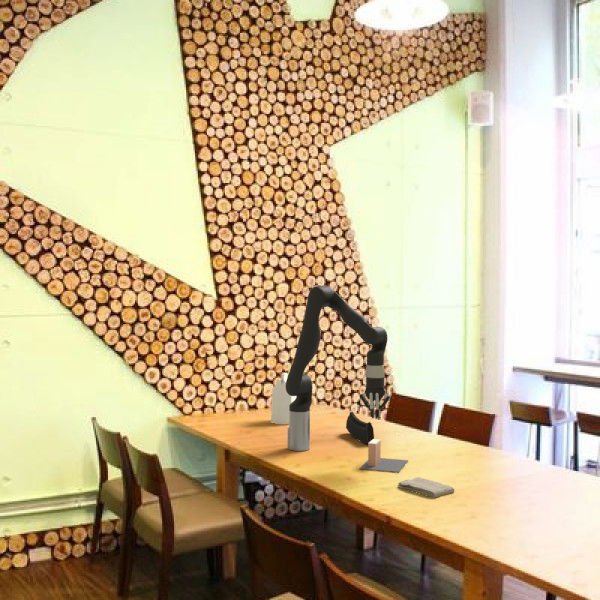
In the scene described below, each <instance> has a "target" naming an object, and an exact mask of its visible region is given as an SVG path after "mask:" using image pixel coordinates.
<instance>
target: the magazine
mask: <svg viewBox="0 0 600 600" xmlns="http://www.w3.org/2000/svg"><path fill="white" fill-rule="evenodd" d="M345 429H346V430H347V432H348V433H349V434H351V436H352V437H353V438H354V437H355V438H356V440H357V439H358V440H357V441H359V440H360V441H361V443H364V444H368V443H369V442H370V441H371V440H373V439H375V433H374V432H375V431H374V426H373V425H372V422H371V421H369V422H365V421H363V420H361V419H360V418H359V417H358V416H356V414H355V413H354V412H353V411H350V412H349V414H348V417H347V419H346V424H345ZM355 438H354V439H355ZM360 441H359V442H360Z"/></svg>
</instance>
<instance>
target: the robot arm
mask: <svg viewBox="0 0 600 600" xmlns="http://www.w3.org/2000/svg"><path fill="white" fill-rule="evenodd" d="M306 299H307V300H306V307H305V312H304V317H303V323H302V327H301V331H300V334H299V337H298V342H297V346H296V351H295V354H294V357H293V361H292V364H291V366H290V369H289V371H288V377H287V380H286V391H287V393H288V394H289V395H290V396H297V397H296V399H295V400H294V401H293V402H292V403H291V404H290V405H289V425H288V427H287V450H290V451H295V452H304V451H305V452H306V451H309V450H310V449H311V443H310V442H311V437H310V435H311V406H312V401H313V382H312V378H311V377H310V375H308V374H306V373H304V372H305V370H306V368H307V367H308V365H309V364H310V363H311V361H312V360H313V359H314V358H315V356H316V354H317V353H318V350H319V347H320V343H321V339H322V332H321V327H320V322H319V319H320V315H321V312H322V308H330V309H331V310H333V311H335V312H336V313H337V314H338V315H339V316H340V318H341V320H342V321H343V323H344V324H345V325H346V326H348V327H349V328H350V329H351V330H353V331H354V332H356V333H357V334H358V337H360V338H361V339H362V341H364V343H366V344H368V345H370V346H371V349H370V350H369V351H367V352H366V368H365V390H364V392H363V393H361V394H359V398H360V400H361V401H362V403H363V404H364V406H365V407H366V408H367V409H369V410H370V411H369V413H370V414H369V415H370V417H371V419H374V418H375V419H376V420H377V419H379V417H380V415H381V414H380V413H381V409H383V408H384V407H386V405H387V404H388V402H389V401H390V399H391V398H392V397H391V395H389V394H388V393H386V392H387V391H386V390H385V375H386V374H385V352H386V349H387V345H388V333H387V330H386V329H385V328H384V327H382V326H371V325H370V321H369V319H367V317H365V316H364V315H362V314H361V313H360V312H359V311H357V310H355V309H354V308H353V307H352V306H350V305H349V303H347V302H346V301H345V300H344V299H343V297H341V296H340V295H339V294H338V293H337V291H335V289H334V288H332V287H331V286H328V285H317V286H313V287H312V288H310V290H309V292H308V295H307V298H306ZM367 398H368V399H367ZM382 399H383V401H382ZM368 400H369V401H368ZM381 401H382V403H381Z"/></svg>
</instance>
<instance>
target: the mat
mask: <svg viewBox="0 0 600 600" xmlns="http://www.w3.org/2000/svg"><path fill="white" fill-rule="evenodd" d="M408 462H409V459H398V458H397V459H396V458H386V457H384V458H383V457H382V458H381V457H380V462H379V463H378V464H377V465H376V466H368V459H367V460H366V461H365V462H364V463H363V464H362V465H361V466H360V467H358V469H359V470H361V469H364V470H363V471H372V470H378V471H377V472H384V471H390V472H389V473H395V472H398V473H397V474H400V472H401V471H402V470H403V468H404V467H405V466H406V465H407V463H408ZM405 464H406V465H405ZM401 469H402V470H401ZM400 470H401V471H400Z"/></svg>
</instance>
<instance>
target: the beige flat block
mask: <svg viewBox="0 0 600 600" xmlns="http://www.w3.org/2000/svg"><path fill="white" fill-rule="evenodd" d="M381 440H382V439H379V438H377V439H376V438H374V439H373V440H371V441H370V442H369V443H367V444H368V445H367V449H368V450H367V457H368V458H367V460H368V466H376V465H377V464H378V463H379V462H380V458H381V446H382V445H381Z"/></svg>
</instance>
